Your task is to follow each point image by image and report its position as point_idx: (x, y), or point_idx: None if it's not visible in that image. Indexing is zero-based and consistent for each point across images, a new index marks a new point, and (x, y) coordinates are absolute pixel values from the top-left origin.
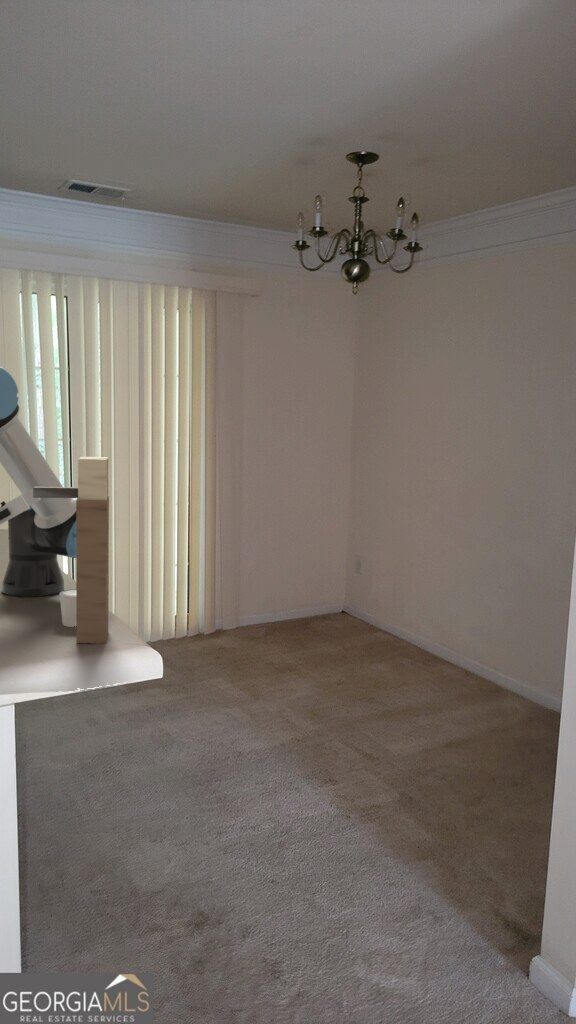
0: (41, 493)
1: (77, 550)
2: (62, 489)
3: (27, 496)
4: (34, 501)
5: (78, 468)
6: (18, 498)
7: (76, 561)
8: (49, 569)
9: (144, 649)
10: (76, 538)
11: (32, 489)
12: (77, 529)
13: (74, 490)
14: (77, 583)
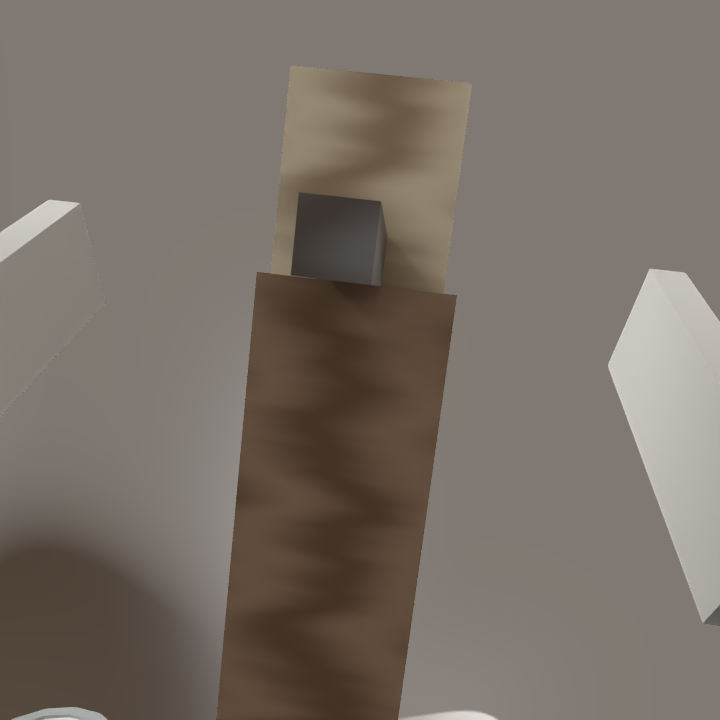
0: (377, 253)
1: (423, 533)
2: (384, 235)
3: (46, 273)
4: (79, 317)
5: (463, 134)
6: (692, 293)
7: (415, 584)
8: None
9: (441, 717)
10: (430, 480)
11: (76, 210)
12: (435, 437)
13: (385, 245)
14: (402, 677)
